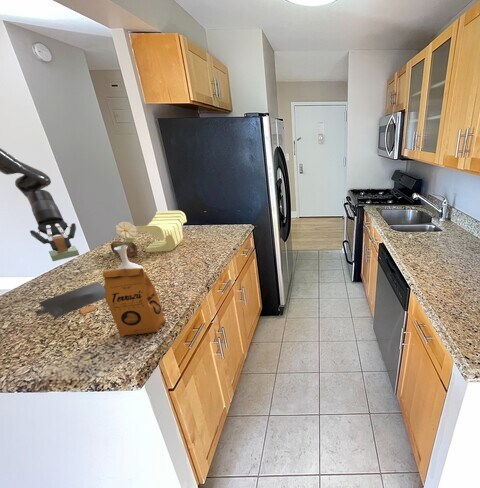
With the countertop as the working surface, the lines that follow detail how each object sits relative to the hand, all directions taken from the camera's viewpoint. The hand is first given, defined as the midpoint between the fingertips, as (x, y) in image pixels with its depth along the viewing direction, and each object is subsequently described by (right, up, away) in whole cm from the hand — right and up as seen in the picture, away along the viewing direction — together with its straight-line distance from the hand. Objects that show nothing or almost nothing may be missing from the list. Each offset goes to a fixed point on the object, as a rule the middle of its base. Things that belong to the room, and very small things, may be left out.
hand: (62, 248), depth 103 cm
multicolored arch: (-3, -5, +37) cm, 37 cm away
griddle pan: (+9, -20, -2) cm, 22 cm away
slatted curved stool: (+12, 0, +48) cm, 50 cm away
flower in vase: (+15, -13, +17) cm, 26 cm away
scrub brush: (-2, -3, +4) cm, 5 cm away
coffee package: (+44, -26, -17) cm, 54 cm away
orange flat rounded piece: (+19, -23, -9) cm, 31 cm away
